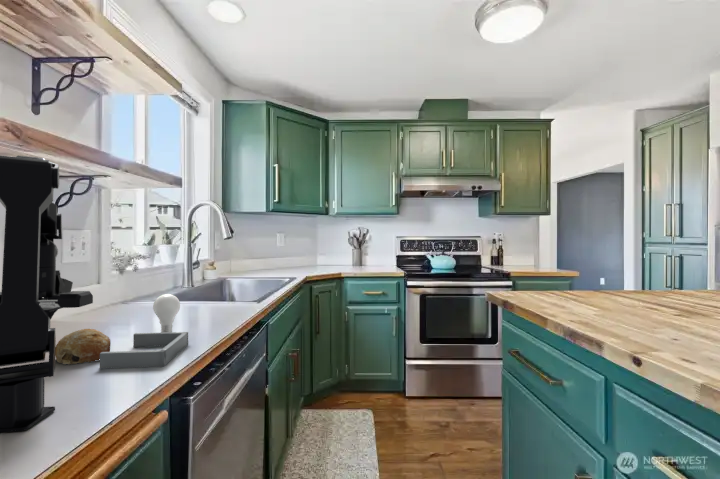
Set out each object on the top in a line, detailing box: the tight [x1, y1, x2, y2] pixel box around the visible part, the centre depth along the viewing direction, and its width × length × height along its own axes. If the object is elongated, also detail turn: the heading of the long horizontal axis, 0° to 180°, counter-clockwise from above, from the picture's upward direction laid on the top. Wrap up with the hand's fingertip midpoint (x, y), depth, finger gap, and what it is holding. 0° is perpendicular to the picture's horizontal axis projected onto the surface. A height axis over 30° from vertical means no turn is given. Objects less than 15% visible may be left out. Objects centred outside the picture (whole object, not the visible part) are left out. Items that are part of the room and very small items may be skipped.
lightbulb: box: [152, 293, 181, 333], centre depth 101 cm, size 6×6×11 cm
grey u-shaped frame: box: [99, 331, 189, 369], centre depth 85 cm, size 16×12×3 cm
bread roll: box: [55, 328, 111, 365], centre depth 83 cm, size 10×10×8 cm
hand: (38, 340), depth 82 cm, fingers closed
